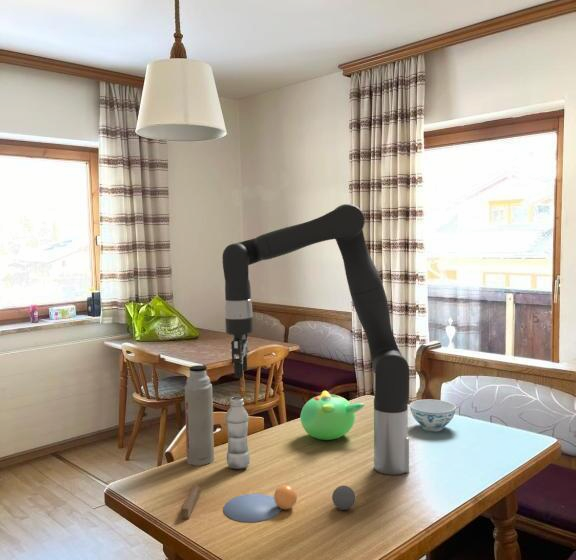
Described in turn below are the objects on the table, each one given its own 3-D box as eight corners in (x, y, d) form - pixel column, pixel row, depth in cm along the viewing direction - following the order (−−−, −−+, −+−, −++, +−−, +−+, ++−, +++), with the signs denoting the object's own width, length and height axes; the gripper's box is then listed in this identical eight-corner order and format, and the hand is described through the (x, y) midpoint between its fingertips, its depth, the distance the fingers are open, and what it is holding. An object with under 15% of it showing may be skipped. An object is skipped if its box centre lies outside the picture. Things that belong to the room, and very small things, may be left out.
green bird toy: (336, 425, 196) (335, 383, 194) (367, 440, 181) (367, 395, 180) (291, 435, 186) (291, 392, 185) (320, 452, 172) (320, 404, 171)
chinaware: (461, 435, 184) (461, 412, 183) (414, 436, 184) (414, 412, 184) (448, 420, 199) (448, 399, 198) (405, 421, 199) (405, 399, 199)
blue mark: (283, 494, 144) (283, 494, 144) (279, 522, 130) (279, 521, 130) (228, 494, 145) (228, 493, 144) (218, 521, 131) (218, 520, 131)
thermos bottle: (185, 466, 163) (182, 370, 161) (188, 455, 171) (185, 364, 169) (213, 464, 164) (210, 369, 161) (214, 454, 171) (212, 363, 169)
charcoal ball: (354, 503, 138) (354, 481, 138) (356, 514, 133) (356, 491, 132) (332, 503, 139) (331, 481, 138) (332, 514, 133) (332, 491, 133)
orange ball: (297, 502, 139) (297, 481, 139) (296, 513, 134) (296, 491, 133) (275, 502, 140) (274, 481, 139) (273, 513, 134) (272, 490, 134)
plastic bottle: (246, 472, 158) (245, 402, 156) (223, 471, 159) (221, 401, 157) (252, 463, 164) (251, 395, 162) (230, 462, 165) (228, 394, 164)
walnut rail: (199, 495, 144) (199, 486, 144) (188, 519, 132) (188, 508, 132) (193, 495, 144) (193, 486, 144) (182, 519, 132) (181, 508, 132)
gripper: (248, 319, 149) (251, 380, 150) (255, 312, 163) (257, 367, 164) (220, 320, 149) (223, 380, 151) (229, 312, 163) (232, 368, 165)
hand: (241, 373), depth 157 cm, fingers open, 8 cm apart
